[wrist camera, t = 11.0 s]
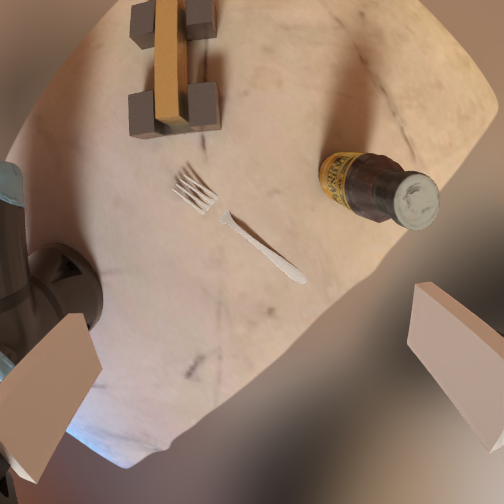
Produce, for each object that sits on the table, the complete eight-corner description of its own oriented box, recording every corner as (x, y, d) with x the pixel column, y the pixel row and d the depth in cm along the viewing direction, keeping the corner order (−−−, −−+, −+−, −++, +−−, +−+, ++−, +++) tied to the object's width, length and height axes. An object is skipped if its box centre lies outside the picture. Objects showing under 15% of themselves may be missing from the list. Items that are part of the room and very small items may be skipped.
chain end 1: (142, 49, 32) (129, 36, 27) (143, 20, 30) (131, 5, 26) (216, 37, 32) (212, 21, 27) (215, 8, 30) (211, -10, 26)
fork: (312, 302, 42) (314, 307, 40) (172, 190, 38) (168, 191, 36) (327, 285, 42) (331, 290, 40) (187, 170, 37) (184, 170, 35)
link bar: (169, 125, 34) (155, 118, 28) (168, 17, 30) (156, -4, 24) (189, 123, 34) (178, 115, 28) (186, 13, 30) (177, -8, 24)
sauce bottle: (316, 150, 36) (380, 140, 17) (363, 154, 36) (455, 153, 17) (315, 202, 38) (374, 241, 19) (360, 204, 38) (447, 243, 19)
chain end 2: (143, 139, 35) (129, 136, 30) (142, 102, 34) (128, 94, 29) (221, 129, 35) (217, 124, 30) (218, 91, 34) (214, 81, 29)
